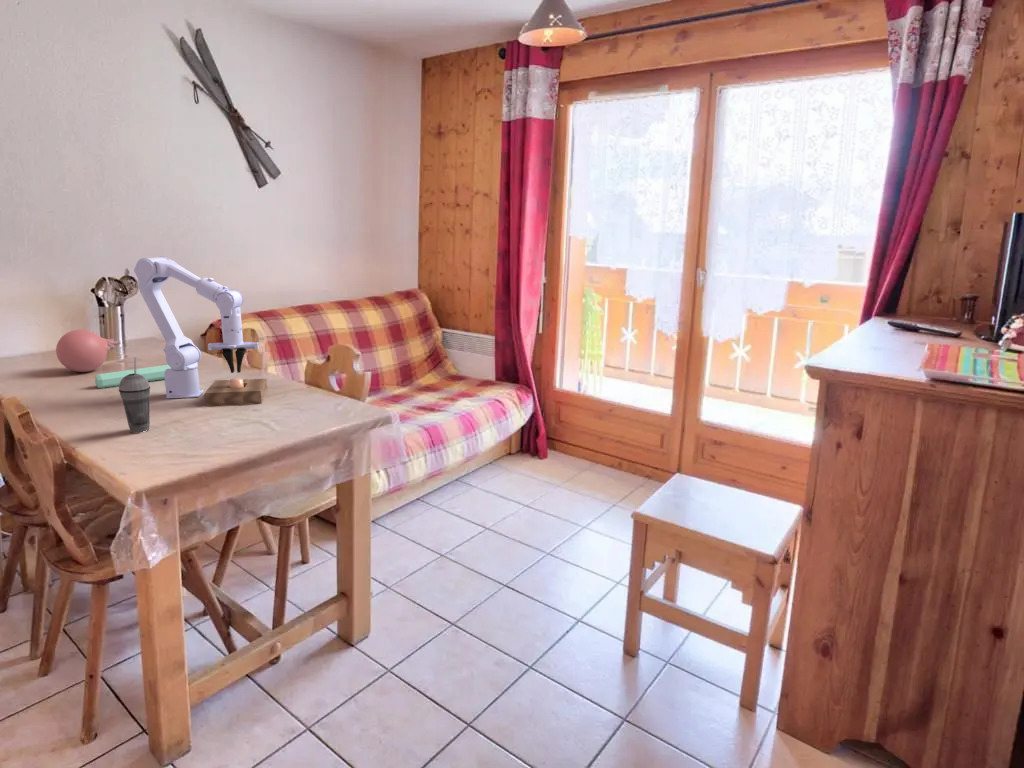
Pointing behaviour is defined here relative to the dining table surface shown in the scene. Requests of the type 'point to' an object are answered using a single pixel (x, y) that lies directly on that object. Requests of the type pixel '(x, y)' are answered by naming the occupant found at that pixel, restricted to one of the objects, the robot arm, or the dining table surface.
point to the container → (116, 377)
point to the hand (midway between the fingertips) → (235, 372)
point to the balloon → (83, 350)
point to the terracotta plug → (236, 383)
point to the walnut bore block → (236, 392)
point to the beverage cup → (136, 400)
